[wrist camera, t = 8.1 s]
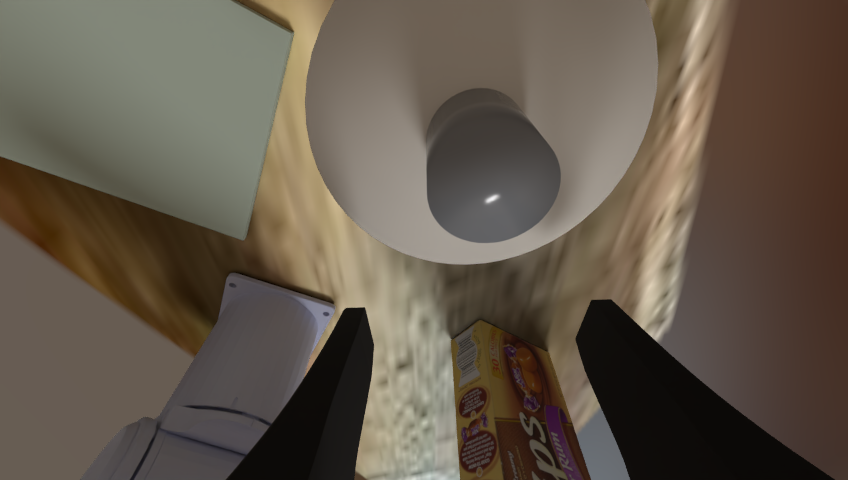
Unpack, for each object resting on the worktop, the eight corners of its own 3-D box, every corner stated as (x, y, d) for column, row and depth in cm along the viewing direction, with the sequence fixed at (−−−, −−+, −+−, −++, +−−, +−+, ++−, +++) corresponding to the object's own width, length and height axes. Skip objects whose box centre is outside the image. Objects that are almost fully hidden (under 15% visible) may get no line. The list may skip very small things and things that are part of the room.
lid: (505, 284, 14) (525, 357, 12) (277, 192, 11) (229, 259, 9) (725, 60, 9) (865, 95, 6) (396, -227, 6) (372, -419, 3)
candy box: (446, 341, 29) (463, 594, 17) (478, 316, 27) (523, 586, 15) (517, 372, 32) (572, 603, 20) (550, 352, 30) (636, 597, 18)
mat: (246, 237, 21) (243, 240, 21) (-1, 150, 18) (-9, 153, 17) (294, 32, 14) (291, 33, 14) (-102, -185, 11) (-118, -191, 10)
